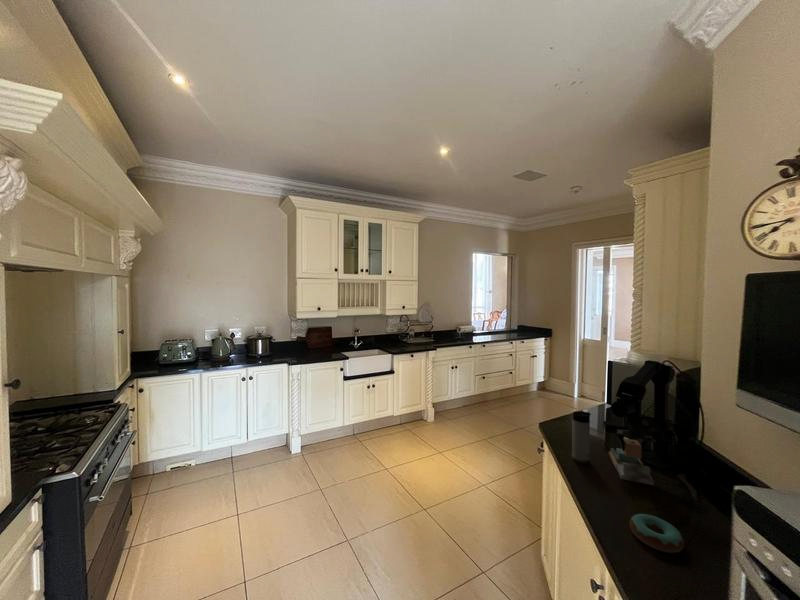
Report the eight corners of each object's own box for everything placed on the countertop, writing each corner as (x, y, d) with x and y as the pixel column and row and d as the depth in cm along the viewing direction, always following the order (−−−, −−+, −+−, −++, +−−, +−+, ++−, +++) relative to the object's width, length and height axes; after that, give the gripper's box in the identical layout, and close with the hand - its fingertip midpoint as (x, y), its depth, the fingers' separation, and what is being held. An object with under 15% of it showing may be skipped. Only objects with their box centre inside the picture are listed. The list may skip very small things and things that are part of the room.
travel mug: (592, 464, 127) (593, 415, 126) (574, 462, 128) (575, 414, 128) (586, 456, 133) (587, 410, 133) (569, 454, 134) (570, 409, 134)
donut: (636, 547, 84) (636, 533, 84) (624, 519, 95) (624, 506, 95) (692, 563, 80) (693, 548, 80) (673, 531, 91) (674, 518, 91)
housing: (637, 452, 123) (637, 439, 123) (641, 458, 119) (641, 445, 119) (622, 450, 125) (622, 437, 125) (625, 456, 121) (625, 442, 120)
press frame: (636, 459, 131) (636, 446, 131) (654, 485, 113) (654, 470, 113) (608, 454, 135) (609, 441, 135) (621, 478, 117) (621, 464, 116)
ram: (633, 457, 129) (633, 438, 129) (637, 463, 124) (637, 444, 124) (615, 454, 132) (616, 435, 132) (619, 460, 127) (619, 441, 127)
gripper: (609, 415, 118) (608, 456, 118) (670, 424, 111) (669, 467, 111) (602, 406, 128) (602, 443, 128) (658, 413, 121) (657, 453, 121)
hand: (631, 451), depth 122 cm, fingers closed on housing, 5 cm apart
